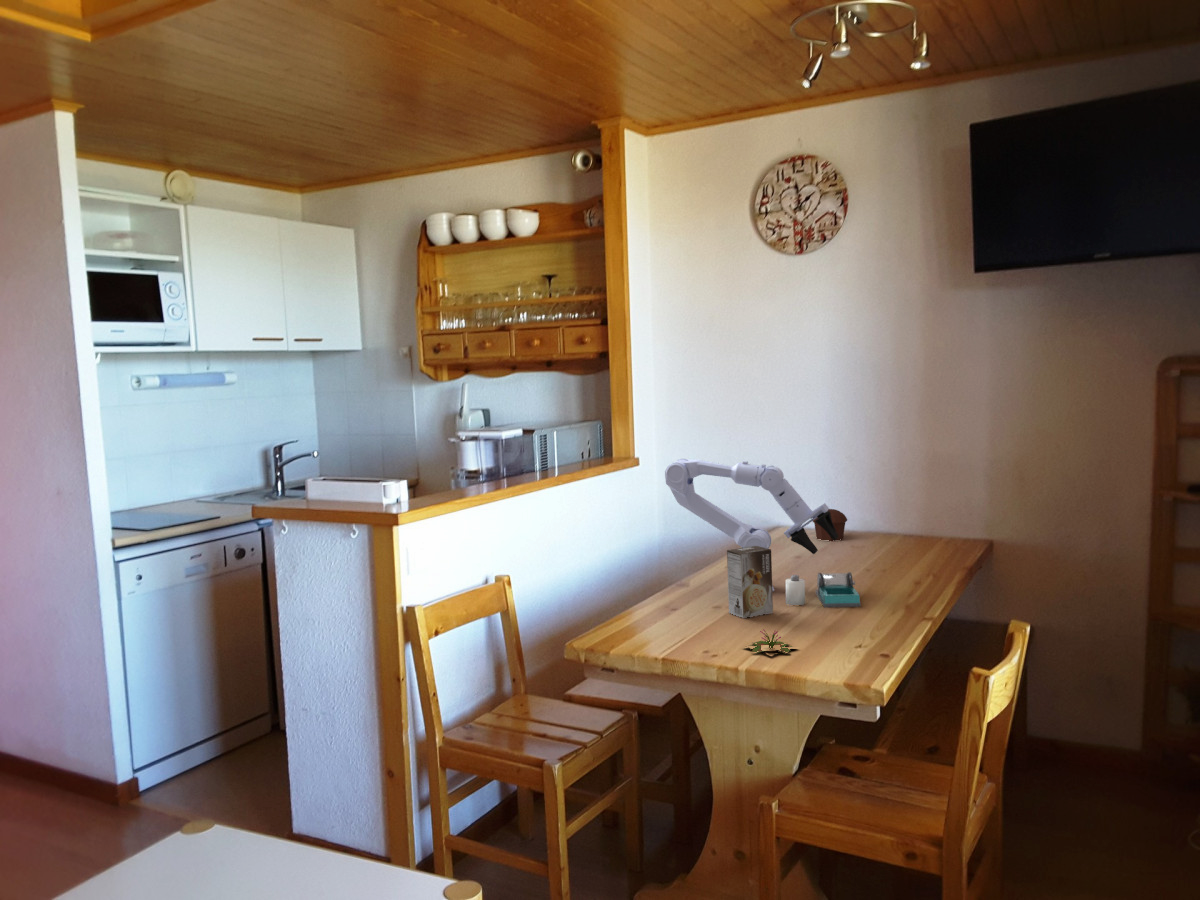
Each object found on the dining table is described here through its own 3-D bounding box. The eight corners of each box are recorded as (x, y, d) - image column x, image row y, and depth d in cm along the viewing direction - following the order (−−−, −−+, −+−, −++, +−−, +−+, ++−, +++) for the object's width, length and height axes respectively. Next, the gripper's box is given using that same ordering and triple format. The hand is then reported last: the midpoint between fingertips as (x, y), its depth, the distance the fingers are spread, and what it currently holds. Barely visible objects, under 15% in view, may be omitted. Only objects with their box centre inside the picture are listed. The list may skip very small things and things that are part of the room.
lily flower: (810, 652, 206) (810, 631, 206) (771, 663, 199) (770, 642, 199) (770, 640, 216) (770, 620, 216) (731, 650, 209) (730, 629, 209)
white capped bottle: (786, 606, 243) (786, 578, 242) (784, 601, 247) (784, 573, 247) (806, 605, 242) (805, 577, 241) (803, 601, 247) (803, 573, 246)
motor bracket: (823, 607, 240) (823, 583, 239) (815, 593, 254) (815, 570, 253) (863, 606, 239) (862, 582, 239) (852, 593, 253) (852, 569, 253)
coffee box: (757, 607, 242) (756, 544, 240) (773, 613, 236) (772, 549, 234) (727, 613, 237) (726, 549, 236) (743, 619, 232) (741, 553, 230)
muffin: (812, 542, 322) (812, 512, 321) (811, 535, 333) (810, 507, 332) (849, 542, 320) (849, 512, 319) (846, 535, 331) (846, 507, 330)
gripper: (818, 485, 255) (851, 526, 253) (780, 513, 264) (812, 552, 262) (808, 495, 249) (842, 536, 248) (770, 522, 258) (802, 563, 256)
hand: (826, 545), depth 254 cm, fingers open, 7 cm apart
